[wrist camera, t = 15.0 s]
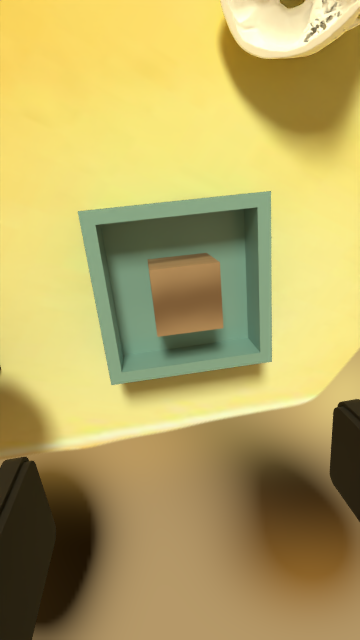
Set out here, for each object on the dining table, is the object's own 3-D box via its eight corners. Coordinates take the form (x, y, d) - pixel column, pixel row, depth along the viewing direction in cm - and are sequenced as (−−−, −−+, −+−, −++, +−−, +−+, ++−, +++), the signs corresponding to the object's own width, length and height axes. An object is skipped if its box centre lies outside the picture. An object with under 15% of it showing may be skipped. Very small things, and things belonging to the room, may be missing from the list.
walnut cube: (147, 259, 33) (149, 270, 27) (206, 252, 34) (219, 262, 28) (154, 315, 35) (157, 336, 29) (210, 308, 36) (223, 328, 30)
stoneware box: (86, 210, 32) (77, 211, 27) (252, 193, 33) (270, 191, 28) (114, 362, 37) (111, 385, 33) (255, 342, 39) (271, 361, 34)
